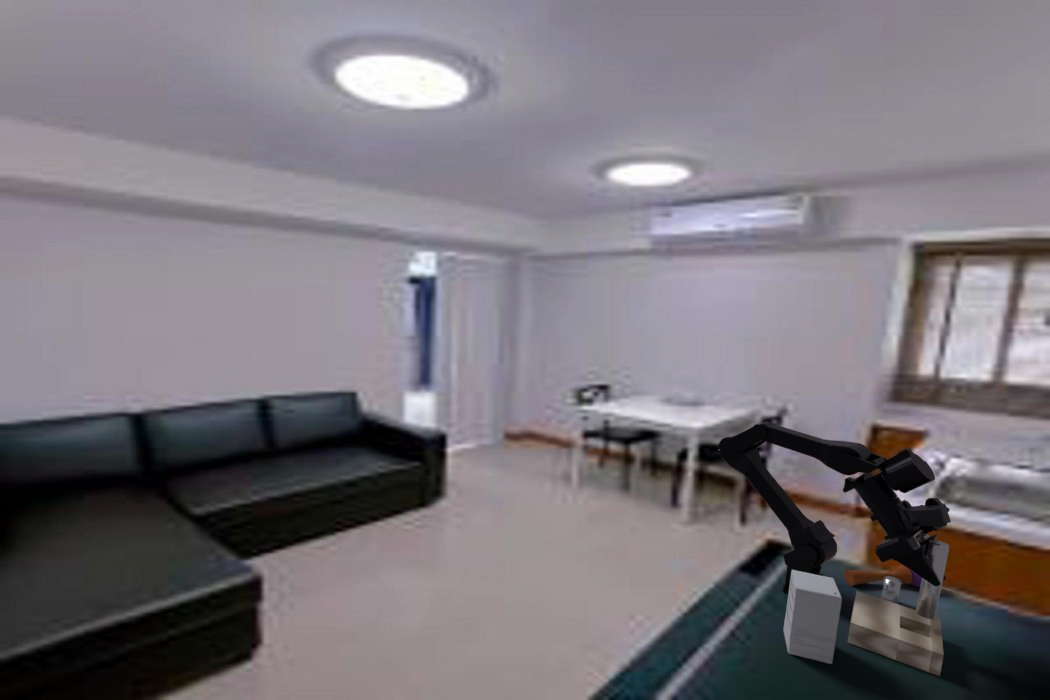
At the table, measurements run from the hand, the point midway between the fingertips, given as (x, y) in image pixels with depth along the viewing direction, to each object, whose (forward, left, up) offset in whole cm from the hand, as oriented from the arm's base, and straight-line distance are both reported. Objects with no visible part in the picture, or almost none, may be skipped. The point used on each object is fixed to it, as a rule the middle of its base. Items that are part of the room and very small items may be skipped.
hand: (941, 582), depth 102 cm
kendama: (-7, +24, -14) cm, 29 cm away
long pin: (-1, 0, -7) cm, 7 cm away
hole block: (-6, -1, -13) cm, 15 cm away
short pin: (-7, +15, -13) cm, 22 cm away
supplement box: (-19, -15, -14) cm, 27 cm away
